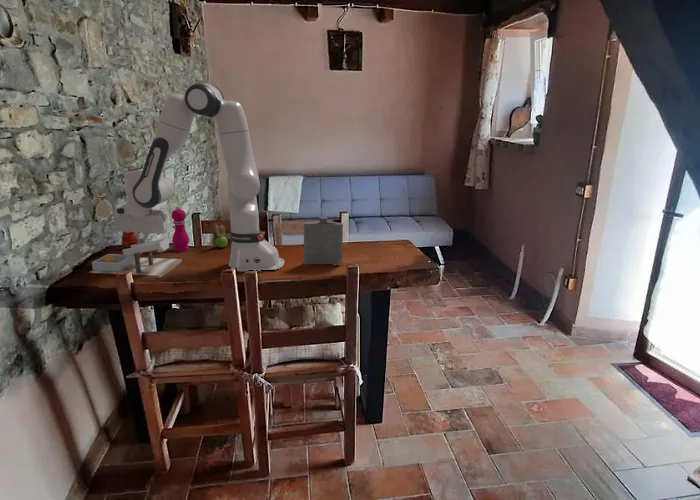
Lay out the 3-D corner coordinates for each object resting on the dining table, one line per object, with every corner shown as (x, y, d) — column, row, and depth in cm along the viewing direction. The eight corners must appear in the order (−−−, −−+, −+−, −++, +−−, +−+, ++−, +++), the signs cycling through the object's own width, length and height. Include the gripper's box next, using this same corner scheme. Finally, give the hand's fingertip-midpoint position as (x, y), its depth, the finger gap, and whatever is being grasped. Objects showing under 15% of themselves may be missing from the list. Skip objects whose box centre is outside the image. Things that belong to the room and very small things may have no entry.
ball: (108, 263, 175) (118, 264, 174) (102, 267, 171) (112, 267, 171) (107, 254, 173) (117, 254, 173) (101, 257, 170) (111, 257, 169)
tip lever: (181, 240, 182) (178, 231, 181) (161, 252, 166) (158, 242, 165) (146, 247, 184) (143, 238, 183) (123, 259, 167) (120, 250, 166)
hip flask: (303, 264, 184) (303, 217, 179) (304, 261, 188) (304, 215, 183) (341, 265, 185) (343, 218, 179) (342, 262, 188) (343, 216, 183)
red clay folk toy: (118, 249, 198) (114, 216, 193) (132, 246, 204) (128, 214, 199) (130, 252, 194) (126, 219, 190) (144, 248, 200) (140, 216, 196)
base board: (182, 261, 184) (180, 241, 182) (159, 278, 165) (157, 256, 163) (118, 258, 186) (116, 239, 183) (89, 275, 166) (85, 253, 164)
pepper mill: (184, 252, 196) (180, 208, 190) (169, 251, 197) (165, 207, 192) (193, 248, 203) (190, 205, 197) (179, 247, 204) (175, 204, 198)
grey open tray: (135, 263, 177) (134, 255, 176) (120, 272, 167) (119, 263, 166) (109, 262, 178) (108, 254, 177) (93, 271, 168) (91, 262, 167)
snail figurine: (212, 248, 203) (210, 223, 200) (220, 245, 209) (219, 220, 205) (221, 250, 201) (220, 224, 198) (230, 246, 207) (229, 221, 204)
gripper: (168, 209, 178) (171, 242, 182) (119, 206, 179) (122, 239, 183) (161, 212, 172) (164, 246, 176) (110, 209, 173) (113, 243, 177)
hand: (142, 242), depth 180 cm, fingers closed
